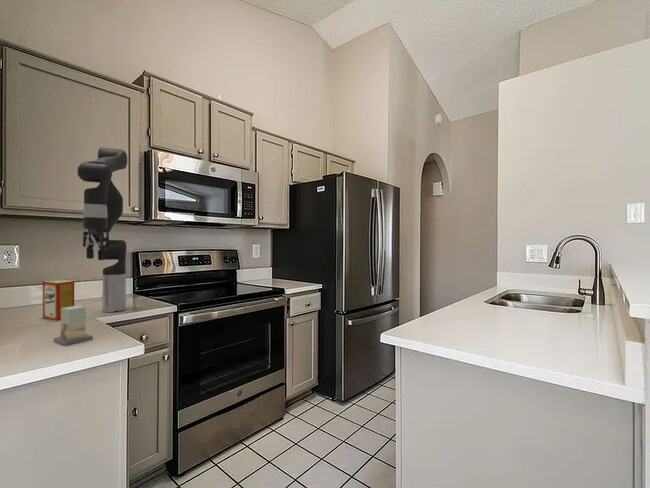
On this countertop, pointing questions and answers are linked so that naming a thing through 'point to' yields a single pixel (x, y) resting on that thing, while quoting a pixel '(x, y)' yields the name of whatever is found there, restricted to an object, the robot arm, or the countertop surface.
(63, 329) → the oak block
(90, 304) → the countertop surface
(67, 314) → the sage block
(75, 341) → the base plate
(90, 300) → the countertop surface
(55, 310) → the baking soda box
